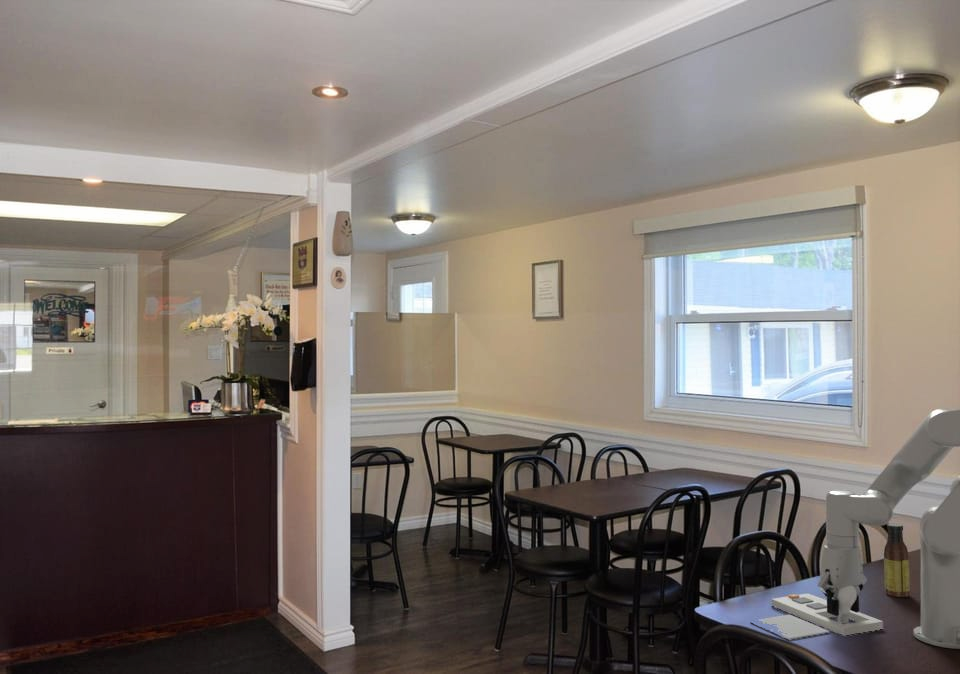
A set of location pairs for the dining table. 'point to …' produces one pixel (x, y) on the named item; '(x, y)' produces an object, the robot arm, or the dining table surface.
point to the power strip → (825, 614)
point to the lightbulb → (845, 602)
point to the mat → (794, 626)
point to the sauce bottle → (896, 563)
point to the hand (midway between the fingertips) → (842, 611)
